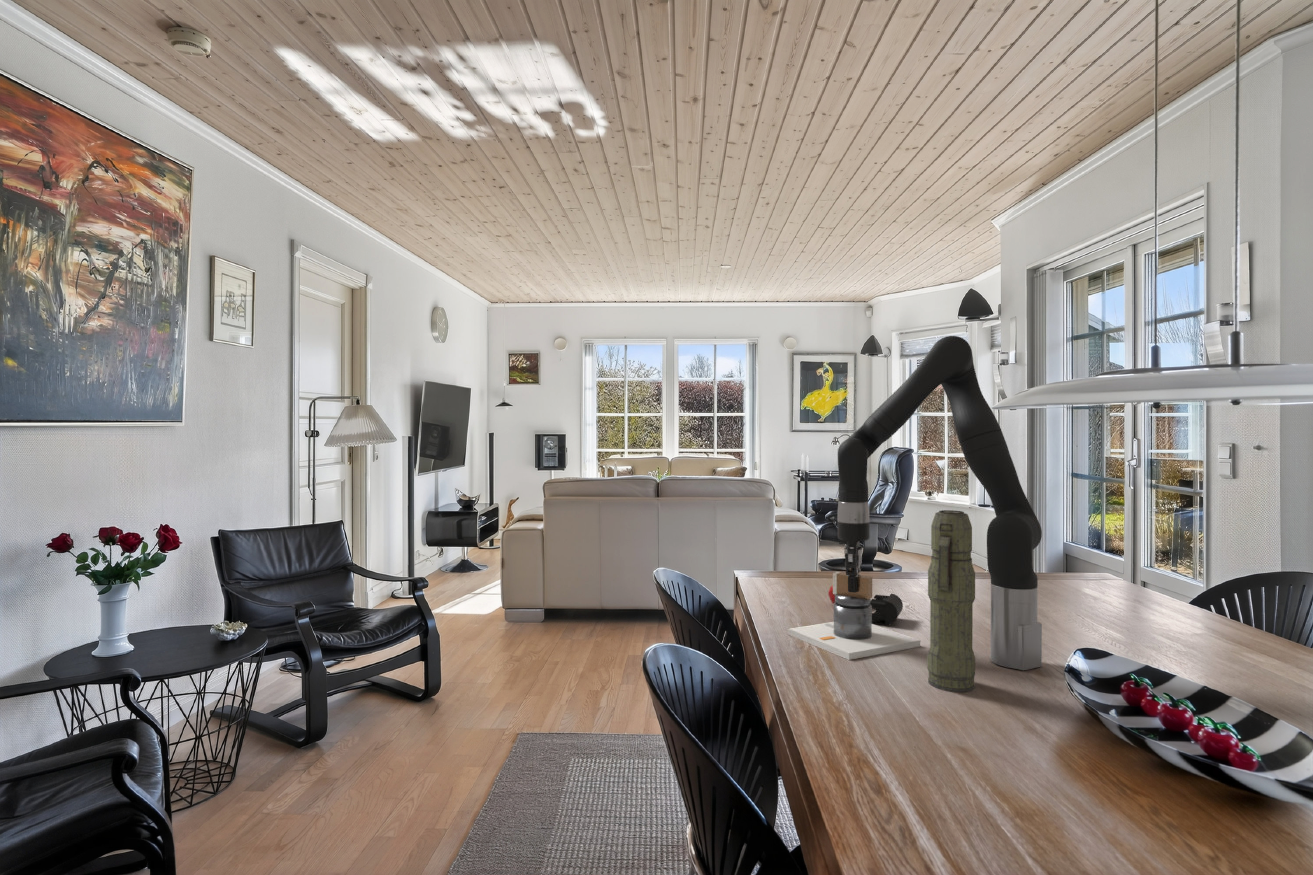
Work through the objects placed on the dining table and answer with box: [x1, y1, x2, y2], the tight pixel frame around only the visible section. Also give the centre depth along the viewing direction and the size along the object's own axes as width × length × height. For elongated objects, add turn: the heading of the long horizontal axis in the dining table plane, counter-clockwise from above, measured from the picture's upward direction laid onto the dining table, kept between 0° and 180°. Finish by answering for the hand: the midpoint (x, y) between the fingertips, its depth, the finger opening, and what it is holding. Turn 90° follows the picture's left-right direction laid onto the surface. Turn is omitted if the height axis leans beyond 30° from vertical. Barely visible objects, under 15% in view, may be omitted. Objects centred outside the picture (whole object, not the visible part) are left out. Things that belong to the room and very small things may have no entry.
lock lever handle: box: [832, 571, 873, 608], centre depth 173 cm, size 9×8×7 cm
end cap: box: [871, 593, 904, 627], centre depth 190 cm, size 10×7×7 cm
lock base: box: [788, 603, 921, 661], centre depth 173 cm, size 22×22×9 cm
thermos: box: [926, 509, 976, 693], centre depth 143 cm, size 9×12×35 cm
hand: (853, 590), depth 173 cm, fingers closed on lock lever handle, 3 cm apart
